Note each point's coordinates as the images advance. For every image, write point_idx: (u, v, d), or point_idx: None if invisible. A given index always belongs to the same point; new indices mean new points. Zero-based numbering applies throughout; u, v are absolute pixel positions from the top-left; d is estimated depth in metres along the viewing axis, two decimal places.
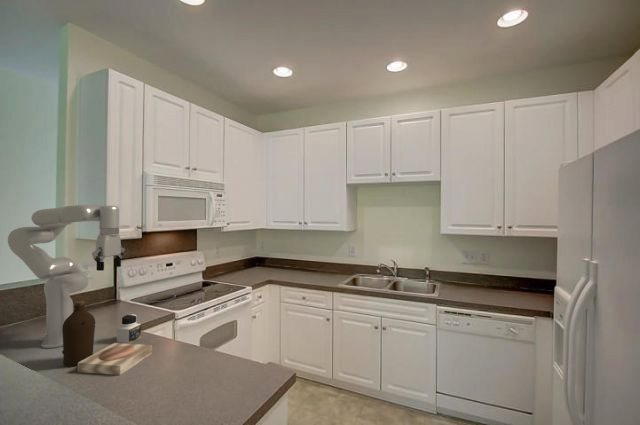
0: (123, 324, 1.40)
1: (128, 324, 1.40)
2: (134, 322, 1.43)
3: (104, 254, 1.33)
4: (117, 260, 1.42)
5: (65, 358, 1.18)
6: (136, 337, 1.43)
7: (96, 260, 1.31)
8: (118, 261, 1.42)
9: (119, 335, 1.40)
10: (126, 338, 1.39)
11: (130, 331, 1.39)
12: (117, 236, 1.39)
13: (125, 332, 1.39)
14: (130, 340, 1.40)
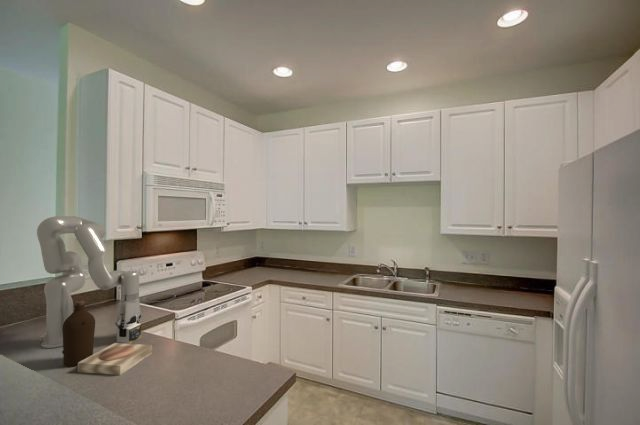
0: (123, 324, 1.40)
1: (128, 324, 1.40)
2: (134, 322, 1.43)
3: (125, 320, 1.38)
4: None
5: (65, 358, 1.18)
6: (136, 337, 1.43)
7: (119, 327, 1.37)
8: None
9: None
10: (127, 338, 1.39)
11: (130, 331, 1.39)
12: (137, 300, 1.45)
13: None
14: (130, 340, 1.40)
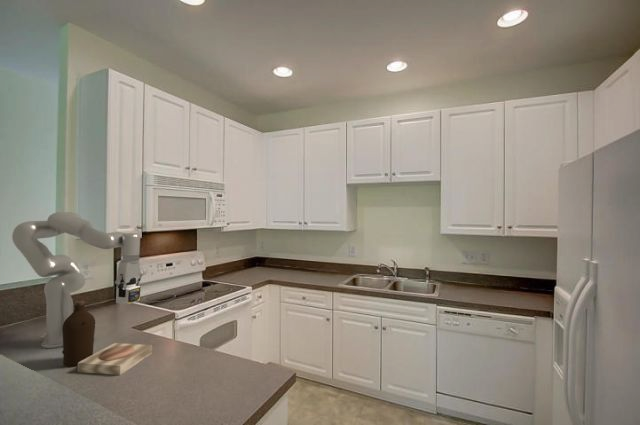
0: None
1: (128, 285, 1.41)
2: (134, 284, 1.43)
3: (125, 281, 1.39)
4: None
5: (65, 358, 1.18)
6: (135, 299, 1.43)
7: (119, 287, 1.38)
8: None
9: (118, 296, 1.40)
10: (126, 299, 1.39)
11: (129, 292, 1.40)
12: (137, 262, 1.45)
13: None
14: (129, 301, 1.40)
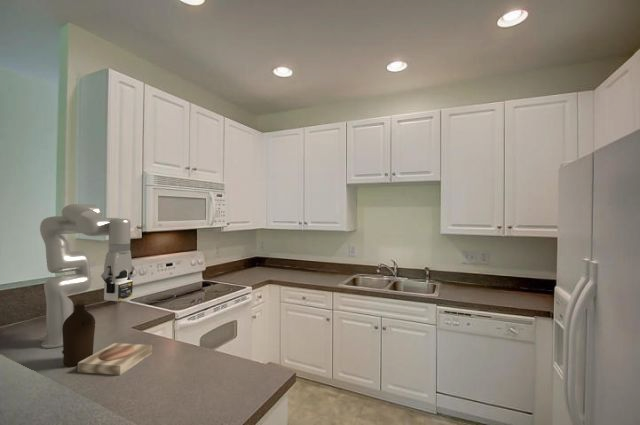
0: None
1: (117, 279, 1.20)
2: (124, 277, 1.22)
3: (114, 274, 1.18)
4: None
5: (65, 358, 1.18)
6: (126, 295, 1.22)
7: (106, 282, 1.17)
8: None
9: None
10: (115, 295, 1.18)
11: (119, 287, 1.19)
12: (128, 253, 1.24)
13: None
14: (119, 297, 1.19)
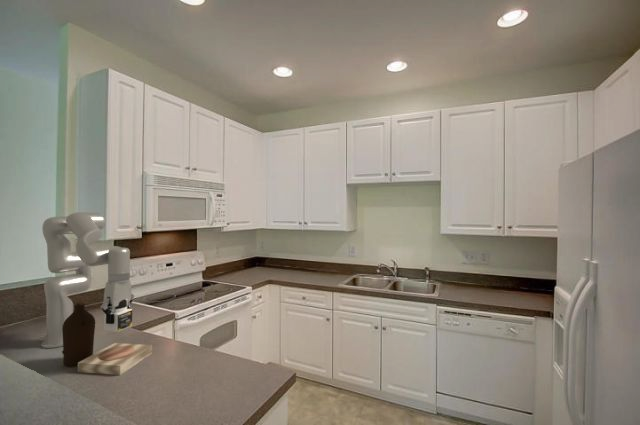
0: None
1: (117, 309, 1.19)
2: (124, 307, 1.22)
3: (113, 304, 1.17)
4: None
5: (65, 358, 1.18)
6: (126, 325, 1.22)
7: (106, 313, 1.17)
8: None
9: None
10: (115, 326, 1.18)
11: (119, 318, 1.19)
12: (127, 282, 1.24)
13: None
14: (119, 328, 1.19)
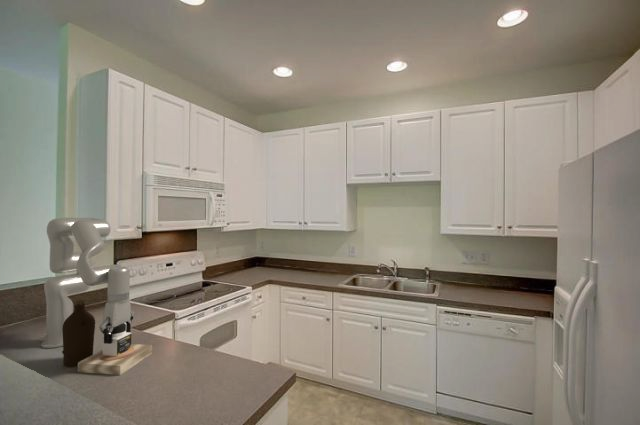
0: None
1: (116, 334, 1.19)
2: (123, 331, 1.22)
3: (113, 325, 1.17)
4: (126, 326, 1.27)
5: (65, 358, 1.18)
6: (125, 349, 1.22)
7: (104, 333, 1.16)
8: (127, 328, 1.26)
9: (105, 347, 1.19)
10: (114, 351, 1.18)
11: (118, 342, 1.19)
12: (127, 301, 1.24)
13: (113, 343, 1.18)
14: (118, 352, 1.19)
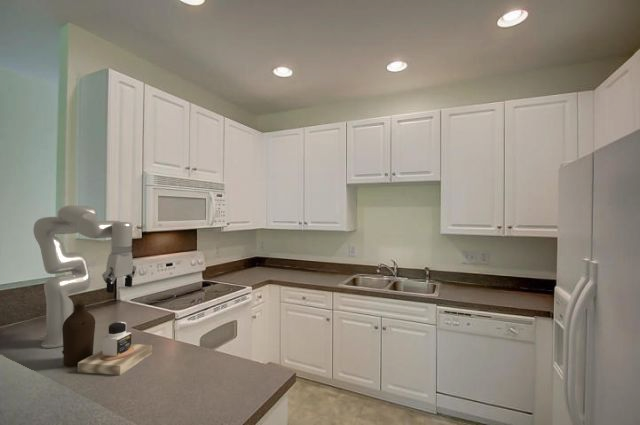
0: (110, 334, 1.19)
1: (116, 334, 1.19)
2: (123, 331, 1.22)
3: (115, 275, 1.23)
4: (128, 280, 1.33)
5: (65, 358, 1.18)
6: (125, 349, 1.22)
7: (106, 281, 1.22)
8: (129, 281, 1.32)
9: (105, 347, 1.19)
10: (114, 351, 1.18)
11: (118, 342, 1.19)
12: (129, 255, 1.30)
13: (113, 343, 1.18)
14: (118, 352, 1.19)
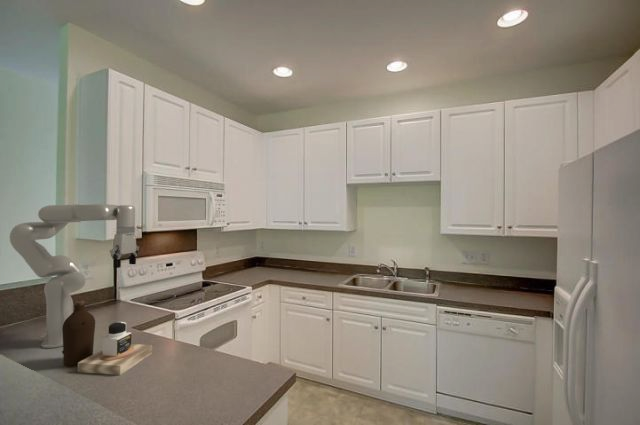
0: (110, 334, 1.19)
1: (116, 334, 1.19)
2: (123, 331, 1.22)
3: (121, 252, 1.38)
4: (132, 258, 1.47)
5: (65, 358, 1.18)
6: (125, 349, 1.22)
7: (113, 257, 1.36)
8: (133, 259, 1.47)
9: (105, 347, 1.19)
10: (114, 351, 1.18)
11: (118, 342, 1.19)
12: (133, 235, 1.45)
13: (113, 343, 1.18)
14: (118, 352, 1.19)
